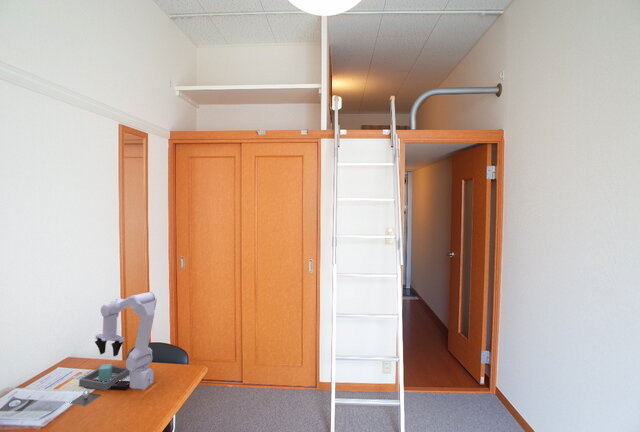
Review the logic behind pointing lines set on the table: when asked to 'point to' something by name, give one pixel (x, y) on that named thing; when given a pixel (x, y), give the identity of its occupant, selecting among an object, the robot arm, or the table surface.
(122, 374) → the bin
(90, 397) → the stud plate
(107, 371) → the socket block
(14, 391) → the table surface
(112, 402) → the table surface
